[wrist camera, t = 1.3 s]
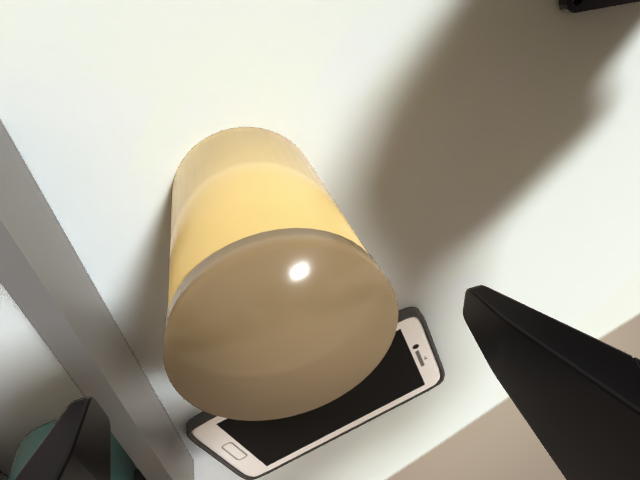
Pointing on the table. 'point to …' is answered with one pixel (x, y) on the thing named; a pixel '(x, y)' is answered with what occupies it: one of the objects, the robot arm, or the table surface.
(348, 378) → the ochre jar
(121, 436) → the lane
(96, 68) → the table surface
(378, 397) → the cell phone
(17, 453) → the jar
